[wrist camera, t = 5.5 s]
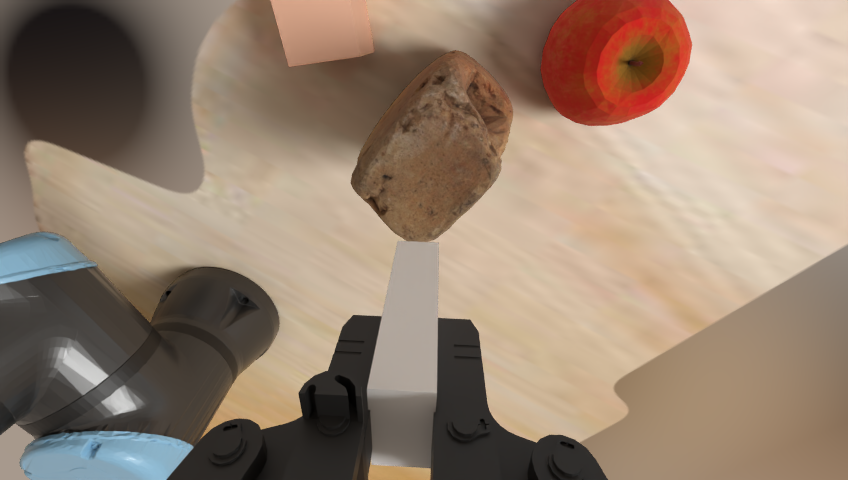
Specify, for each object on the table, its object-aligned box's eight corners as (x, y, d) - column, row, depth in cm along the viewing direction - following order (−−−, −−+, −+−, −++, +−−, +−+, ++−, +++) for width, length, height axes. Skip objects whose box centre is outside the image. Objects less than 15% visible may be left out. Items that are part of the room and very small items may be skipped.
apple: (678, 18, 34) (766, 14, 25) (608, 133, 39) (659, 165, 30) (571, -33, 33) (622, -57, 23) (513, 93, 38) (535, 114, 28)
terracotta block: (314, 60, 37) (288, 66, 31) (296, -12, 34) (264, -21, 28) (374, 52, 37) (360, 56, 30) (361, -24, 34) (343, -35, 28)
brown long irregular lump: (429, 167, 42) (418, 267, 24) (377, 118, 40) (323, 190, 22) (505, 91, 38) (557, 146, 20) (451, 32, 35) (458, 35, 18)
